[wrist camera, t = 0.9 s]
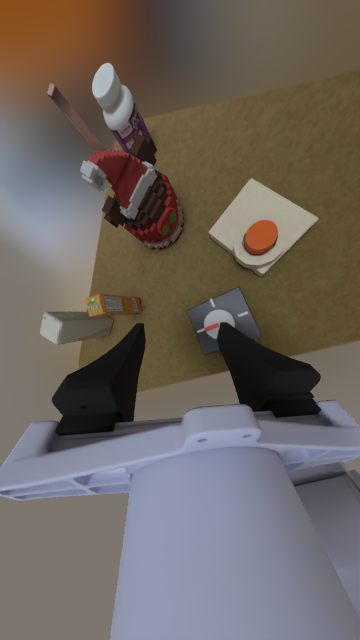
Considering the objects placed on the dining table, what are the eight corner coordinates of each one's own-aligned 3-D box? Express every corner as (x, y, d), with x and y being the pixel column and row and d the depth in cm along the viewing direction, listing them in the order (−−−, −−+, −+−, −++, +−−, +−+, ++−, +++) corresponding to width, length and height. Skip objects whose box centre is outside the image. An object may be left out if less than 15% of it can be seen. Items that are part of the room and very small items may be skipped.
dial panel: (238, 288, 23) (238, 285, 21) (259, 335, 23) (262, 337, 20) (190, 310, 26) (185, 310, 24) (207, 351, 26) (204, 356, 23)
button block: (312, 225, 20) (328, 208, 16) (256, 281, 22) (261, 275, 19) (249, 187, 22) (252, 165, 19) (206, 241, 25) (202, 230, 21)
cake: (160, 188, 27) (44, -12, 10) (196, 210, 25) (123, 1, 8) (132, 238, 30) (5, 144, 13) (163, 262, 28) (57, 185, 11)
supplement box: (130, 316, 31) (87, 317, 22) (128, 301, 31) (83, 296, 22) (143, 313, 30) (102, 313, 21) (140, 297, 30) (98, 290, 21)
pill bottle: (143, 174, 28) (102, 110, 19) (128, 161, 30) (82, 95, 21) (160, 146, 27) (123, 62, 18) (143, 134, 28) (101, 49, 19)
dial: (228, 305, 22) (227, 304, 18) (238, 330, 21) (240, 333, 18) (204, 315, 23) (199, 316, 19) (213, 338, 23) (210, 343, 19)
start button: (280, 237, 18) (285, 229, 17) (258, 260, 19) (261, 255, 18) (258, 222, 19) (261, 213, 18) (238, 245, 20) (239, 239, 19)
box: (95, 327, 35) (38, 332, 25) (99, 311, 34) (42, 310, 24) (110, 336, 34) (55, 346, 23) (115, 319, 33) (60, 322, 23)
